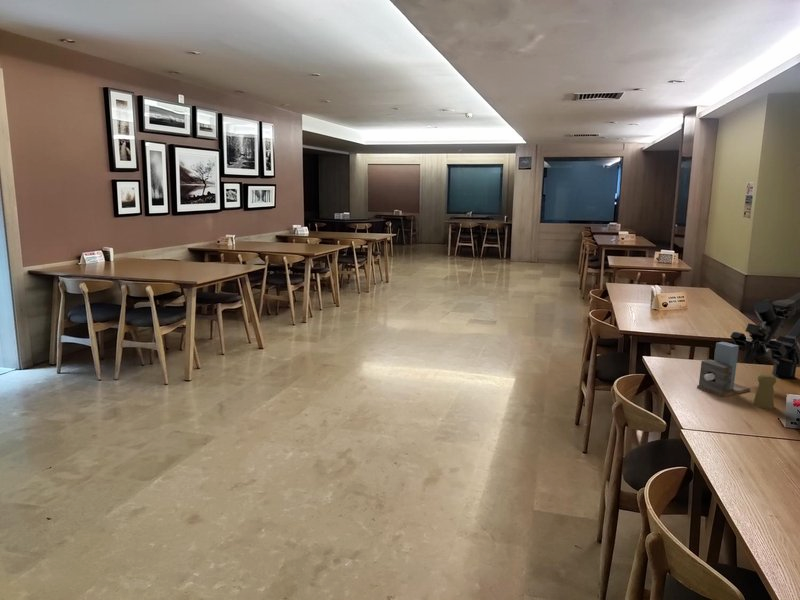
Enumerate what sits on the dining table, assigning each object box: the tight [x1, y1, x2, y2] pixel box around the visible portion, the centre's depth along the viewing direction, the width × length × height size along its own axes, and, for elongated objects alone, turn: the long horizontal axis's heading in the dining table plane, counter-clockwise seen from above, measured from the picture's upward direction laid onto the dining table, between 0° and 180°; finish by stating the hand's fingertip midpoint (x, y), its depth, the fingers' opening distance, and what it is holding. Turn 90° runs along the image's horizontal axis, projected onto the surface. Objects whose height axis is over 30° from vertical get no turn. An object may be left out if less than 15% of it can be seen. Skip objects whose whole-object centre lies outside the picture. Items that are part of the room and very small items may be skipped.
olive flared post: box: [752, 373, 777, 410], centre depth 194 cm, size 6×6×11 cm
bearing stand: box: [696, 359, 751, 398], centre depth 209 cm, size 16×10×11 cm, turn 116°
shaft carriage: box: [704, 341, 740, 389], centre depth 207 cm, size 11×6×16 cm, turn 116°
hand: (745, 361), depth 213 cm, fingers closed
